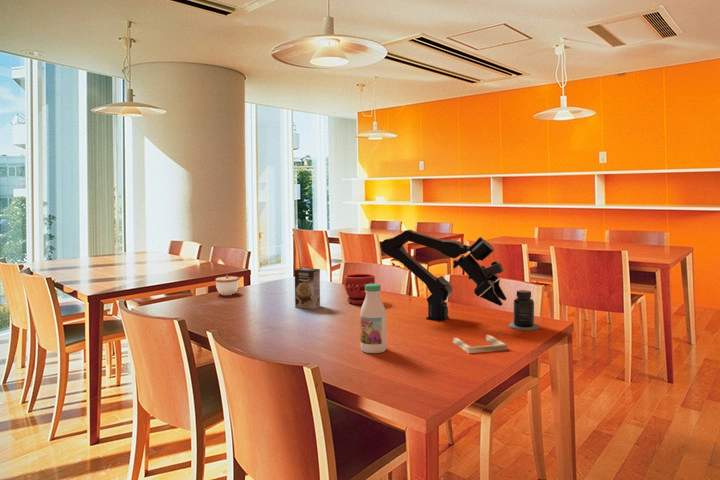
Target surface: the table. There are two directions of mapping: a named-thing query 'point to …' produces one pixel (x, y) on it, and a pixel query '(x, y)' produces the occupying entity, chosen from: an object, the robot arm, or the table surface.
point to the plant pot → (357, 287)
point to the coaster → (524, 327)
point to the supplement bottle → (523, 309)
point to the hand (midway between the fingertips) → (503, 302)
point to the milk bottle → (373, 321)
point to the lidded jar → (227, 285)
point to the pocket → (496, 347)
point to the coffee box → (307, 288)
